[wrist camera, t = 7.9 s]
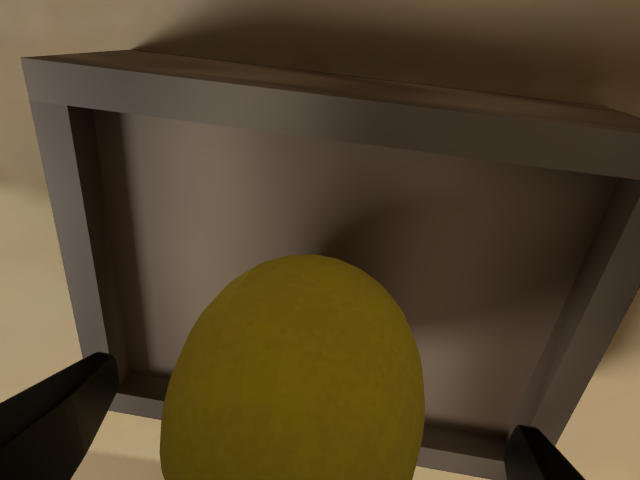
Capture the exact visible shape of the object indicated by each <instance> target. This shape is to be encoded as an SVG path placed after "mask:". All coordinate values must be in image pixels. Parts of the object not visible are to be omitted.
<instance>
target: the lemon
mask: <svg viewBox="0 0 640 480" xmlns="http://www.w3.org/2000/svg"><path fill="white" fill-rule="evenodd" d="M424 421H425V395H424V383H423V372H422V364H421V358H420V354H419V350H418V347H417V344H416V342H415V339H414V337H413V334H412V332H411V330H410V327H409V325H408V322H407V320H406V318H405V315H404V313H403V312H402V310H401V308H400V307H399V305H398V304H397V303H396V302H395V300H394V299H393V298H392V297H391V296H390V294H389V293H388V292H387V291H386V289H385V288H384V287H383V286H382V285H381V284H380V283H379V282H378V281H376V280H375V279H374V278H372V277H371V276H369V275H368V274H367V273H365V272H364V271H363V270H361V269H360V268H357V267H355V266H353V265H350V264H348V263H346V262H344V261H341V260H339V259H336V258H331V257H326V256H321V255H315V254H305V255H287V256H284V257H280V258H276V259H273V260H269V261H266V262H263V263H260V264H259V265H257V266H255V267H253V268H252V269H250V270H248V271H247V272H245V273H243V274H241V275H240V276H238V277H237V278H235V279H234V280H232V281H231V282H230V283H229V284H228V285H227V286H226V287H225V288H224V289H223V290H222V291H221V292H220V293H219V294H218V295H217V296H216V298H215V299H214V300H213V301H212V302H211V303H210V304H209V305H208V306H207V308H206V309H205V310H204V311H203V312H202V313H201V315H200V316H199V318H198V319H197V321H196V322H195V324H194V326H193V327H192V329H191V331H190V333H189V335H188V337H187V339H186V342H185V344H184V346H183V348H182V351H181V353H180V355H179V358H178V360H177V362H176V365H175V367H174V369H173V372H172V375H171V378H170V381H169V385H168V388H167V392H166V396H165V401H164V406H163V411H162V422H161V438H160V460H161V469H162V473H163V476H164V479H165V480H412V478H413V474H414V471H415V467H416V464H417V460H418V456H419V453H420V448H421V442H422V437H423V430H424Z"/></svg>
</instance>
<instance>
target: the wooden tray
mask: <svg viewBox="0 0 640 480" xmlns="http://www.w3.org/2000/svg"><path fill="white" fill-rule="evenodd" d="M21 62H22V67H23V72H24V77H25V82H26V86H27V91H28V96H29V101H30V106H31V111H32V115H33V120H34V125H35V130H36V135H37V139H38V144H39V149H40V154H41V159H42V164H43V168H44V173H45V178H46V183H47V188H48V193H49V197H50V202H51V207H52V212H53V217H54V221H55V226H56V231H57V236H58V241H59V246H60V250H61V255H62V260H63V265H64V270H65V275H66V279H67V284H68V289H69V294H70V299H71V303H72V308H73V313H74V318H75V323H76V328H77V332H78V337H79V342H80V347H81V352H82V357H83V359H84V358H86V357H87V356H89V355H91V354H93V353H96V352H103V353H109V354H113V355H115V357H116V359H117V364H118V370H119V377H120V385H119V389H118V391H117V394H116V396H115V398H114V400H113V402H112V404H111V406H110V408H109V411H114V412H120V413H125V414H131V415H136V416H142V417H148V418H153V419H159V420H162V411H163V406H164V401H165V396H166V392H167V388H168V385H169V381H170V378H171V375H172V372H173V369H174V367H175V365H176V362H177V360H178V358H179V355H180V353H181V351H182V348H183V346H184V344H185V342H186V339H187V337H188V335H189V333H190V331H191V329H192V327H193V326H194V324H195V322H196V321H197V319H198V318H199V316H200V315H201V313H202V312H203V311H204V310H205V309H206V308H207V306H208V305H209V304H210V303H211V302H212V301H213V300H214V299H215V298H216V296H217V295H218V294H219V293H220V292H221V291H222V290H223V289H224V288H225V287H226V286H227V285H228V284H229V283H230V282H231V281H232V280H234V279H235V278H237V277H238V276H240V275H241V274H243V273H245V272H247V271H248V270H250V269H252V268H253V267H255V266H257V265H259V264H260V263H263V262H266V261H269V260H273V259H276V258H280V257H284V256H287V255H305V254H315V255H321V256H326V257H331V258H336V259H339V260H341V261H344V262H346V263H348V264H350V265H353V266H355V267H357V268H360V269H361V270H363V271H364V272H365V273H367V274H368V275H369V276H371V277H372V278H374V279H375V280H376V281H378V282H379V283H380V284H381V285H382V286H383V287H384V288H385V289H386V291H387V292H388V293H389V294H390V296H391V297H392V298H393V299H394V300H395V302H396V303H397V304H398V305H399V307H400V308H401V310H402V312H403V313H404V315H405V318H406V320H407V322H408V325H409V327H410V330H411V332H412V334H413V337H414V339H415V342H416V344H417V347H418V350H419V354H420V358H421V364H422V372H423V383H424V395H425V421H424V430H423V437H422V442H421V448H420V453H419V456H418V460H417V464H416V466H420V467H425V468H431V469H436V470H442V471H447V472H453V473H458V474H464V475H470V476H475V477H481V478H486V479H492V480H507V479H506V472H505V465H504V450H505V447H506V445H507V443H508V440H509V438H510V436H511V434H512V432H513V429H514V428H515V426H516V425H519V424H521V425H527V426H532V427H536V428H538V429H539V430H540V431H541V432H542V433H543V434H544V435H545V436H546V437H547V438H548V439H549V440H550V442H551V443H552V444H553V445H554V446H555V445H556V443H557V441H558V439H559V438H560V436H561V434H562V432H563V430H564V428H565V426H566V424H567V423H568V421H569V419H570V417H571V415H572V413H573V411H574V409H575V408H576V406H577V404H578V402H579V400H580V398H581V396H582V394H583V393H584V391H585V389H586V387H587V385H588V383H589V381H590V379H591V378H592V376H593V374H594V372H595V370H596V368H597V366H598V364H599V363H600V361H601V359H602V357H603V355H604V353H605V351H606V349H607V348H608V346H609V344H610V342H611V340H612V338H613V336H614V334H615V333H616V331H617V329H618V327H619V325H620V323H621V321H622V319H623V318H624V316H625V314H626V312H627V310H628V308H629V306H630V304H631V303H632V301H633V299H634V297H635V295H636V293H637V291H638V289H639V288H640V118H638V117H635V116H632V115H629V114H626V113H623V112H620V111H617V110H614V109H611V108H608V107H604V106H595V105H587V104H579V103H570V102H562V101H554V100H545V99H537V98H529V97H520V96H512V95H504V94H495V93H487V92H479V91H470V90H462V89H453V88H445V87H437V86H428V85H420V84H412V83H403V82H395V81H387V80H378V79H370V78H362V77H353V76H345V75H337V74H328V73H320V72H311V71H303V70H295V69H286V68H278V67H270V66H261V65H253V64H245V63H236V62H228V61H220V60H211V59H203V58H195V57H186V56H178V55H169V54H161V53H153V52H144V51H136V50H119V51H106V52H92V53H78V54H64V55H51V56H37V57H23V58H21Z"/></svg>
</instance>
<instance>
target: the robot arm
mask: <svg viewBox="0 0 640 480" xmlns="http://www.w3.org/2000/svg"><path fill="white" fill-rule="evenodd" d="M119 385H120V377H119V370H118V364H117V359H116V357H115V355H113V354H109V353H103V352H96V353H93V354H91V355H89V356H87V357H86V358H84V359H82V360H80V361H78V362H76V363H74V364H73V365H71V366H69V367H67V368H65V369H63V370H61V371H59V372H58V373H56V374H54V375H52V376H50V377H48V378H46V379H45V380H43V381H41V382H39V383H37V384H35V385H33V386H32V387H30V388H28V389H26V390H24V391H22V392H20V393H18V394H17V395H15V396H13V397H11V398H9V399H7V400H5V401H4V402H2V403H0V480H70V479H71V477H72V476H73V474H74V473H75V471H76V470H77V468H78V466H79V465H80V463H81V462H82V460H83V458H84V456H85V455H86V453H87V451H88V449H89V447H90V445H91V444H92V442H93V440H94V438H95V436H96V434H97V432H98V430H99V428H100V426H101V424H102V422H103V420H104V418H105V416H106V414H107V412H108V410H109V408H110V406H111V404H112V402H113V400H114V398H115V396H116V394H117V391H118V389H119ZM504 465H505V472H506V479H507V480H585V479H584V478H583V476H582V475H581V474H580V473H579V472H578V471H577V470H576V469H575V468H574V467H573V466H572V464H571V463H570V462H569V461H568V460H567V459H566V458H565V457H564V456H563V455H562V454H561V452H560V451H559V450H558V449H557V448H556V447H555V446H554V445H553V444H552V443H551V442H550V440H549V439H548V438H547V437H546V436H545V435H544V434H543V433H542V432H541V431H540V430H539V429H538V428H536V427H532V426H527V425H521V424H519V425H516V426H515V428H514V429H513V432H512V434H511V436H510V438H509V440H508V443H507V445H506V447H505V450H504Z"/></svg>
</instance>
